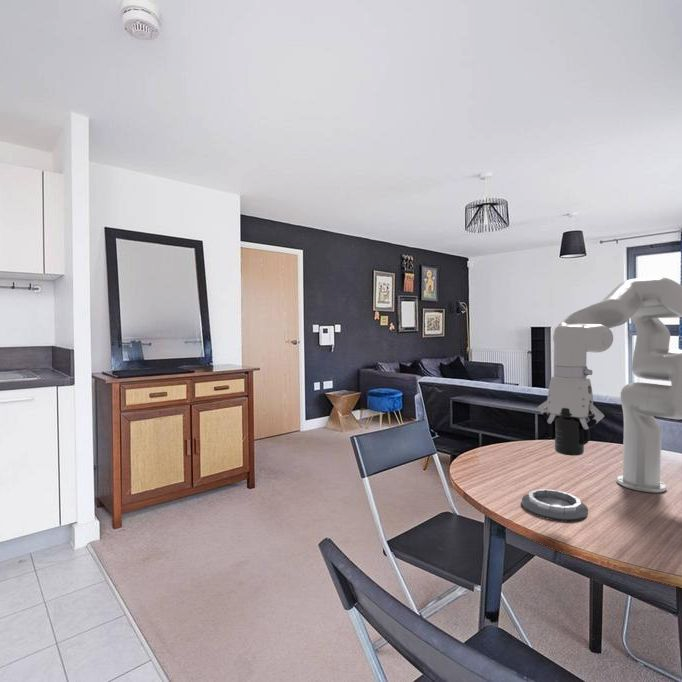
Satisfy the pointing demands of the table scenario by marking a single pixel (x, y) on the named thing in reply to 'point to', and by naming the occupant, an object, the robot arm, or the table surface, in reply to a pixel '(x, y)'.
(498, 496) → the table surface
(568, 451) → the supplement bottle
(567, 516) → the rosette plate
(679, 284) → the robot arm
